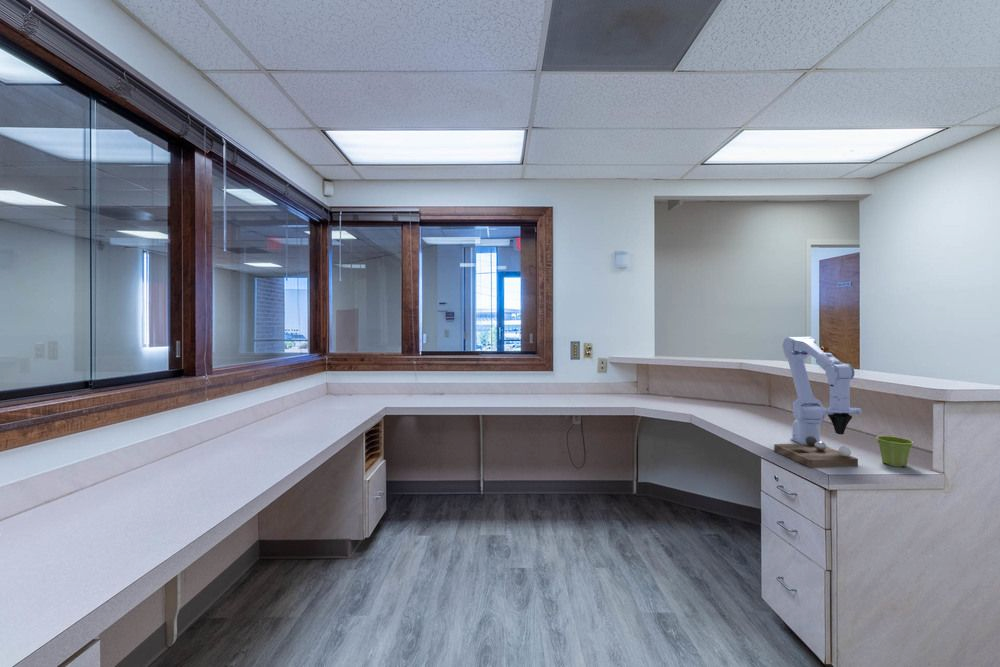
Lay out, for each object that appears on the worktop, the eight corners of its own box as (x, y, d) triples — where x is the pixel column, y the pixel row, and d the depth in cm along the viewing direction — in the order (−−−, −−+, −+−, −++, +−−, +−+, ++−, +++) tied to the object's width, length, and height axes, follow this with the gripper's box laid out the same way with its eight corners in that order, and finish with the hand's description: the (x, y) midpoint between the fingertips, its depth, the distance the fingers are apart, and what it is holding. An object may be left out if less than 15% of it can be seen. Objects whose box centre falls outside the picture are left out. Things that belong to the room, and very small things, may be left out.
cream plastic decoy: (835, 455, 147) (835, 445, 146) (845, 454, 147) (845, 445, 146) (843, 458, 143) (843, 448, 143) (853, 458, 143) (853, 448, 143)
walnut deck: (774, 450, 160) (774, 444, 160) (817, 449, 160) (817, 443, 160) (808, 467, 142) (808, 459, 142) (857, 465, 142) (857, 458, 142)
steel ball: (812, 449, 153) (812, 440, 153) (821, 449, 153) (821, 439, 153) (819, 452, 150) (819, 442, 149) (828, 452, 150) (828, 442, 149)
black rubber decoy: (803, 444, 160) (803, 435, 159) (812, 443, 160) (812, 434, 159) (810, 446, 156) (810, 437, 156) (819, 446, 156) (819, 437, 156)
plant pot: (875, 457, 150) (875, 434, 150) (911, 463, 144) (911, 438, 144) (876, 465, 143) (877, 440, 142) (915, 471, 137) (915, 445, 136)
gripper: (828, 399, 147) (828, 437, 147) (869, 398, 147) (869, 436, 147) (813, 395, 154) (813, 431, 154) (852, 394, 154) (852, 430, 154)
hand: (839, 433), depth 151 cm, fingers closed
